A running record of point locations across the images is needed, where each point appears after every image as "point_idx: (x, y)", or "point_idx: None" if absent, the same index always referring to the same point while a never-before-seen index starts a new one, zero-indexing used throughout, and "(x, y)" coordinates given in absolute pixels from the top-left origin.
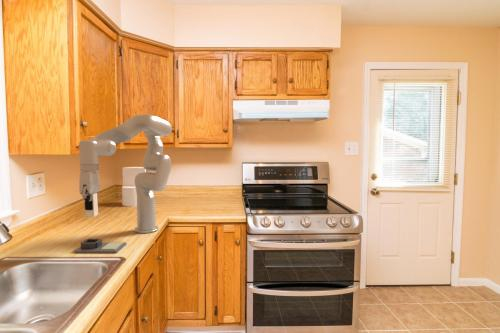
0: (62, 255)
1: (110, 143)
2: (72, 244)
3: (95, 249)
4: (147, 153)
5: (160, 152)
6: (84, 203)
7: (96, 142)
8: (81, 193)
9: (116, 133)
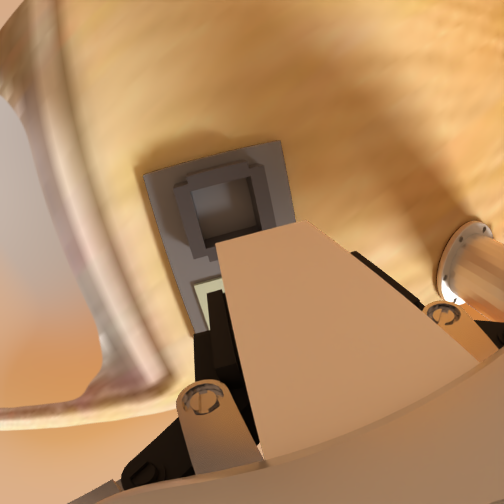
0: (102, 146)
1: None
2: (259, 67)
3: (188, 257)
4: None
5: None
6: (232, 319)
7: None
8: (180, 495)
9: None
